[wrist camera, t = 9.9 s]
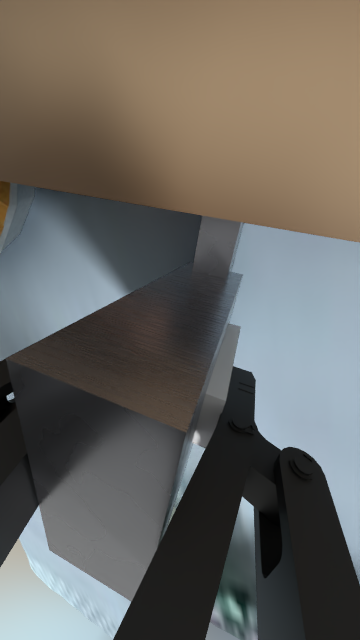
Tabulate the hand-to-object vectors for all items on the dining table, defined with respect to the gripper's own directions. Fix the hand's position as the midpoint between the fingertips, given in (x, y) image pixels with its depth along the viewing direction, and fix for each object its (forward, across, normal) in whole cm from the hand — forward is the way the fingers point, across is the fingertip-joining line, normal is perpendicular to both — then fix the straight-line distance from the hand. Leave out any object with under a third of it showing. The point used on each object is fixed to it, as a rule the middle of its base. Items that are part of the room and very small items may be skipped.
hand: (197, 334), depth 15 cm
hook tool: (+2, +3, -7) cm, 7 cm away
